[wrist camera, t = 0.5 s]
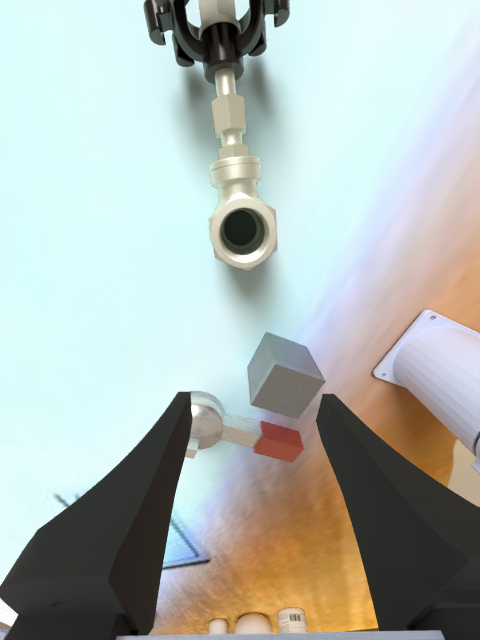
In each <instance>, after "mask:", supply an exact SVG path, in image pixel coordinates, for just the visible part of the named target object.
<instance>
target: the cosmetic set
mask: <svg viewBox="0 0 480 640" xmlns="http://www.w3.org/2000/svg"><path fill="white" fill-rule="evenodd" d="M278 624H279V633H308V631H307V625H306V620H305V614H304V611H303V610H302V609H301V608H297V607H289V608H284V609H281V610H280V611H279V612H278ZM259 633H272V629H271V626H270V623H269V621H268V620H267V619H266V617H264V616H263V615H261V614H259V613H249V614H245V615H243V616H242V617H241V618H240V619H239V620H238V622H237V624H236V627H235V631H234V634H259ZM209 634H227V622H226V621H225V620H224V619H214V620H212V621H211V622H210V625H209Z"/></svg>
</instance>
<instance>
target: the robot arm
mask: <svg viewBox="0 0 480 640" xmlns="http://www.w3.org/2000/svg"><path fill="white" fill-rule="evenodd" d="M431 316H432V317H431ZM430 317H431V318H430ZM373 375H374V376H375V377H377V378H380V379H382V380H385V381H388V382H391V383H393V384H396V385H399V386H401V387H404V388H407V389H408V390H409V391H410V392H411V393H412V394H413V395H414V396H415V397H416V398H417V399H418V400H419V401H420V402H421V403H422V404H423V405H424V406H425V407H426V408H427V409H428V410H429V411H430V412H431V413H432V414H433V415H434V416H435V417H436V418H437V419H438V420H439V421H440V422H441V423H442V424H443V425H444V426H445V427H446V428H447V429H448V430H449V431H450V432H451V433H452V434H453V435H454V436H455V437H456V438H457V439H458V440H459V441H461V443H462V444H463V445H465V446H466V448H468V450H469V451H470V452H472V453H473V454H474V455H475V456H476V459H475V461H474V463H473V464H472V467H473V468H474V469H475V470H476V471H477V472H478V473H479V474H480V333H478V332H476V331H474V330H471V329H469V328H467V327H465V326H463V325H461V324H459V323H456V322H454V321H452V320H450V319H448V318H446V317H444V316H441V315H439V314H437V313H435V312H433V311H431V310H425V311H423V312H422V313H421V314H420V315H419V316H418V318H417V319H416V320H415V321H414V322H413V324H412V325H411V326H410V327H409V328H408V330H407V331H406V332H405V333H404V335H403V336H402V337H401V338H400V339H399V341H398V342H397V343H396V344H395V345H394V347H393V348H392V349H391V350H390V351H389V353H388V354H387V355H386V356H385V357H384V359H383V360H382V361H381V362H380V363H379V365H378V366H377V367H376V368H375V369H374V371H373ZM192 420H193V417H192V404H191V392H178V393H177V394H176V396H175V398H174V399H173V401H172V402H171V403H170V405H169V406H168V408H167V409H166V410H165V412H164V413H163V414H162V416H161V417H160V418H159V420H158V421H157V422H156V424H155V425H154V426H153V427H152V428H151V430H150V431H149V432H148V433H147V434H146V435H145V437H144V438H143V439H142V440H141V441H140V442H139V443H138V445H137V446H136V447H135V448H134V449H133V450H132V451H131V452H130V453H129V454H128V455H127V456H126V457H125V458H124V459H123V460H122V461H121V462H120V463H119V464H118V465H117V466H116V467H115V468H114V469H113V470H112V471H111V472H109V473H108V474H107V475H106V476H105V477H104V478H103V479H102V480H101V481H99V482H98V483H97V484H96V485H95V486H93V487H92V488H91V489H90V490H89V491H87V492H86V493H85V494H84V495H83V496H82V497H80V498H79V499H78V500H77V501H75V502H74V503H73V504H72V505H70V506H69V507H68V508H66V509H65V510H64V511H62V512H61V513H60V514H58V515H57V516H56V517H54V518H53V519H52V520H50V521H49V522H48V523H46V524H45V525H44V526H42V527H41V528H40V529H38V530H37V532H36V533H35V535H34V536H33V537H32V539H31V540H30V541H29V543H28V544H27V545H26V547H25V548H24V550H23V551H22V553H21V554H20V556H19V558H18V559H17V561H16V562H15V564H14V565H13V567H12V569H11V570H10V572H9V573H8V575H7V576H6V578H5V580H4V581H3V583H2V584H1V586H0V597H1V599H2V600H3V601H4V602H5V603H6V604H7V605H8V606H9V607H11V608H12V609H13V610H14V611H15V612H16V613H17V614H18V617H17V619H16V620H15V622H14V624H13V626H12V628H11V630H10V631H9V630H7V629H2V628H0V640H480V508H479V507H477V506H475V505H474V504H472V503H470V502H469V501H467V500H466V499H464V498H462V497H461V496H459V495H457V494H456V493H454V492H453V491H451V490H450V489H448V488H447V487H445V486H444V485H442V484H441V483H439V482H438V481H436V480H435V479H433V478H432V477H430V476H429V475H427V474H426V473H425V472H423V471H422V470H420V469H419V468H417V467H416V466H415V465H413V464H412V463H411V462H409V461H408V460H407V459H405V458H404V457H403V456H402V455H400V454H399V453H398V452H396V451H395V450H394V449H393V448H392V447H390V446H389V445H388V444H387V443H386V442H384V441H383V440H382V439H381V438H380V437H379V436H377V435H376V434H375V433H374V432H373V431H372V430H371V429H370V428H369V427H367V426H366V425H365V424H364V423H363V422H362V421H361V420H360V419H359V418H358V417H357V416H356V415H355V414H354V413H353V412H352V411H351V410H350V409H349V408H348V407H347V406H346V405H345V404H344V403H343V402H342V401H341V400H340V399H339V398H337V397H336V396H335V395H334V394H323V395H322V399H321V403H320V407H319V411H318V415H317V419H316V422H317V426H318V430H319V434H320V437H321V440H322V443H323V446H324V448H325V451H326V453H327V456H328V458H329V461H330V463H331V466H332V468H333V470H334V473H335V475H336V478H337V480H338V483H339V485H340V488H341V491H342V494H343V496H344V499H345V503H346V506H347V509H348V512H349V516H350V519H351V522H352V526H353V529H354V533H355V536H356V540H357V543H358V547H359V550H360V554H361V558H362V562H363V565H364V569H365V573H366V577H367V581H368V585H369V589H370V593H371V597H372V601H373V605H374V609H375V614H376V618H377V623H378V627H379V631H375V632H374V631H373V632H316V633H259V634H203V635H148V634H149V633H150V631H151V630H152V628H153V625H154V618H155V611H156V604H157V598H158V591H159V585H160V578H161V572H162V566H163V560H164V554H165V548H166V542H167V536H168V530H169V525H170V519H171V513H172V508H173V502H174V497H175V492H176V488H177V484H178V480H179V477H180V473H181V469H182V465H183V462H184V458H185V454H186V450H187V447H188V443H189V439H190V433H191V427H192Z"/></svg>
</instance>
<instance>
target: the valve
mask: <svg viewBox="0 0 480 640" xmlns="http://www.w3.org/2000/svg"><path fill="white" fill-rule="evenodd" d="M188 2H189V0H145V2H144V13H145V18H146V22H147V27H148V32H149V37H150V39H151V40H152V42H154V43H155V44H157V45H165V44H166V43H165V38H164V32H165V31H168V30H172V31H173V34H172V41H173V46H174V52H175V58H176V62H177V64H178V65H180V66H182V67H190V66H192V65H194V64H195V62H194V60H196V61H199V62H203V68H204V75H205V78H206V80H207V81H208V82H210V83H212V84H216V91H217V98H215V99H214V100H213V101H212V102H211V104H212V112H213V119H214V126H215V134H216V138H217V139H221V143H222V147H221V148H219V149H218V156H219V160H218V161H215V162H213V163H211V164H210V165H209V173H210V179H211V186H212V187H215V188H217V189H218V195H219V203H218V205H217V206H216V208H215V209H214V211H213V213H212V215H211V217H210V218H209V236H210V240H211V243H212V246H213V249H214V254H215V258H216V259H219V260H221V261H223V262H225V263H227V264H230V265H232V266H234V267H237V268H239V269H242V270H245V271H250V270H251V269H253V268H254V267H256V266H257V265H258V264H260V263H261V262H263V261H264V260H265V259H266V258H268V257H269V256H270V255H272V254H273V253H274V252H275V251H276V250H277V226H276V213H275V209H273V208H271V207H269V206H267V205H266V204H265V203H264V202H263V201H262V200H261V199H259V198H258V196H257V186H256V182H258V181H260V180H261V178H262V176H261V162H260V158H259V157H256V156H249V151H248V145H245V144H243V142H242V136H243V135H246V117H245V105H244V97H243V96H241V95H238V94H236V86H235V81H236V80H238V79H239V78H240V77H241V76H242V74H243V71H244V65H243V56H244V55H246V54H248V55H249V56H258V55H261V54H262V53H263V52H264V51H265V50H266V47H267V45H266V25H265V20H264V18H265V15H267V14H274V26H275V28H276V27H279V26H281V25H283V24H284V23H285V22H286V21H287V20H288V18H289V15H290V4H289V0H249V7H250V8H249V9H248V11H247V12H246V14H245V15H244V16H243V17H242V18H241V19H240V20H239V21H238V20H237V19H236V14H235V2H234V0H199V9H200V16H201V24H202V25H201V27H200V28H198V27H196V26H194V25H192V24H191V23H189V22H188V21H187V15H186V8H185V6H186V4H187V3H188ZM236 211H245V212H247V213H249V214H250V215H251V216H252V217H253V218H254V220H255V222H256V226H257V231H256V235H255V237H254V239H253V240H252V241H251V242H250V243H248V244H247V245H243V246H237V245H234V244H232V243H231V242H230V241H229V240H228V239H227V237H226V235H225V231H224V225H225V221H226V219H227V218H228V216H229V215H230V214H232V213H233V212H236Z"/></svg>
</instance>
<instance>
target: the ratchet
mask: <svg viewBox="0 0 480 640" xmlns="http://www.w3.org/2000/svg"><path fill="white" fill-rule="evenodd" d="M190 392H191V404H192V417H193V420H192V427H191V433H190V439H189V443H188V447H187V450H186V454H185V457H189V458H194V456H195V454H196V452H197V450H200V449H205V448H208V447H211V446H213V445H214V444H216V443H217V442H218V441H219V439H222V440H225V441H229V442H233V443H237V444H241V445H245V446H248V447H252V448H254V453H258V454H262V455H266V456H270V457H273V458H277V459H281V460H285V461H289V462H293V461H294V460H295V459H296V458H297V456H298V455H299V454H300V453H301V452H302V450H303V449H304V448H303V445H302V441H301V438H300V435H299V432H298V431H295V430H291V429H288V428H284V427H281V426H277V425H274V424H270V423H267V422H264V421H261V422H259V421H255V420H252V419H248V418H245V417H241V416H238V415H234V414H231V413H228V412H224V411H223V406H222V404H221V402H220V401H219V400H218V399H217V398H216V397H214V396H213V395H211V394H209V393H206V392H201V391H190Z"/></svg>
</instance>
